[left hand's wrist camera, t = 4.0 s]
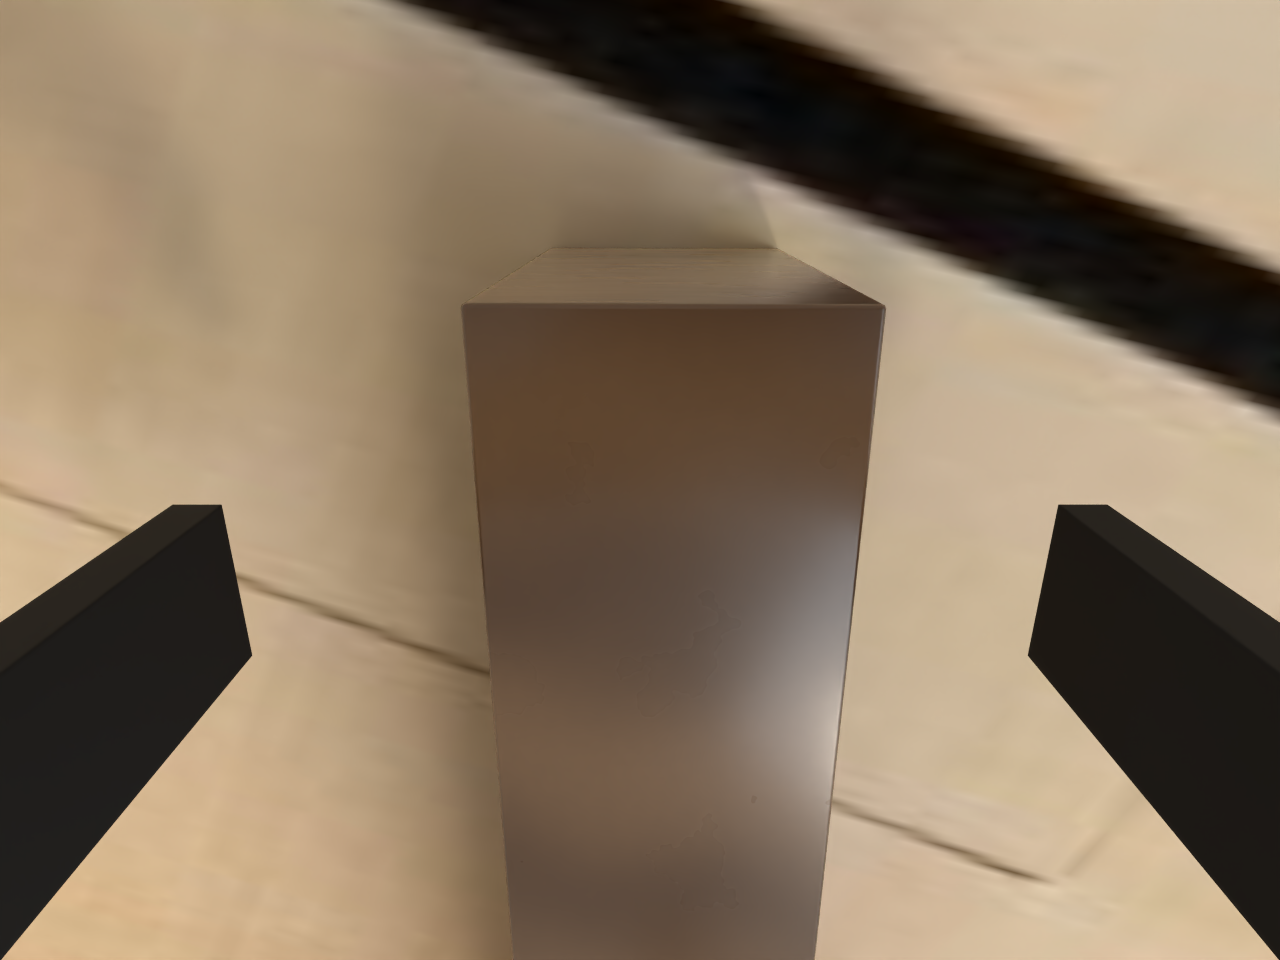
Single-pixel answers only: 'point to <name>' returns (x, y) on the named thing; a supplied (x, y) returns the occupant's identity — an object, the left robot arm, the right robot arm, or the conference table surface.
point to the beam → (668, 589)
